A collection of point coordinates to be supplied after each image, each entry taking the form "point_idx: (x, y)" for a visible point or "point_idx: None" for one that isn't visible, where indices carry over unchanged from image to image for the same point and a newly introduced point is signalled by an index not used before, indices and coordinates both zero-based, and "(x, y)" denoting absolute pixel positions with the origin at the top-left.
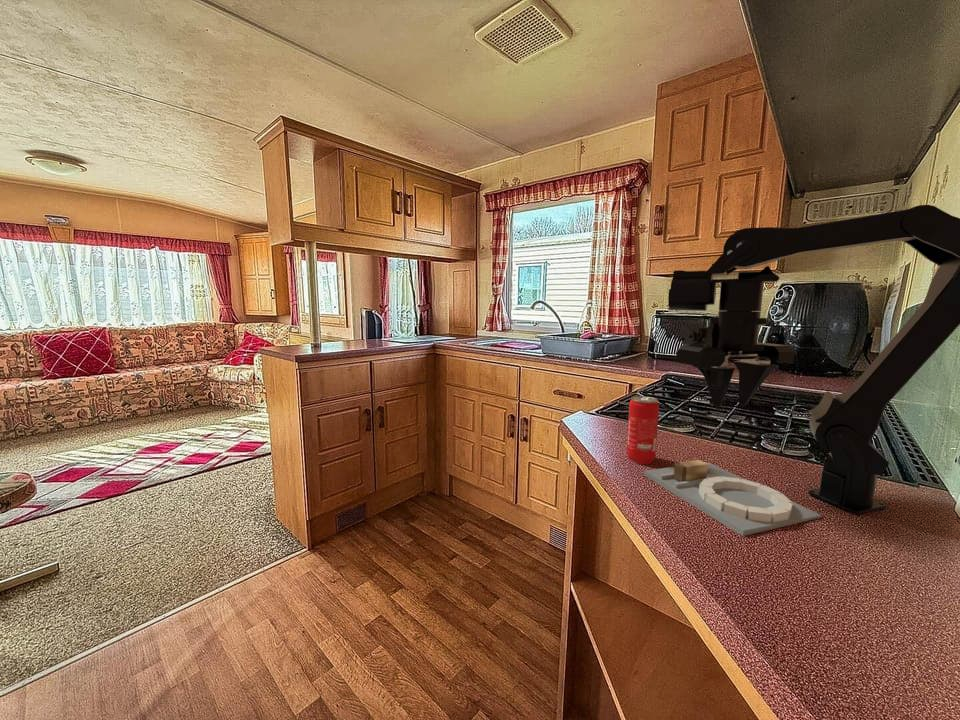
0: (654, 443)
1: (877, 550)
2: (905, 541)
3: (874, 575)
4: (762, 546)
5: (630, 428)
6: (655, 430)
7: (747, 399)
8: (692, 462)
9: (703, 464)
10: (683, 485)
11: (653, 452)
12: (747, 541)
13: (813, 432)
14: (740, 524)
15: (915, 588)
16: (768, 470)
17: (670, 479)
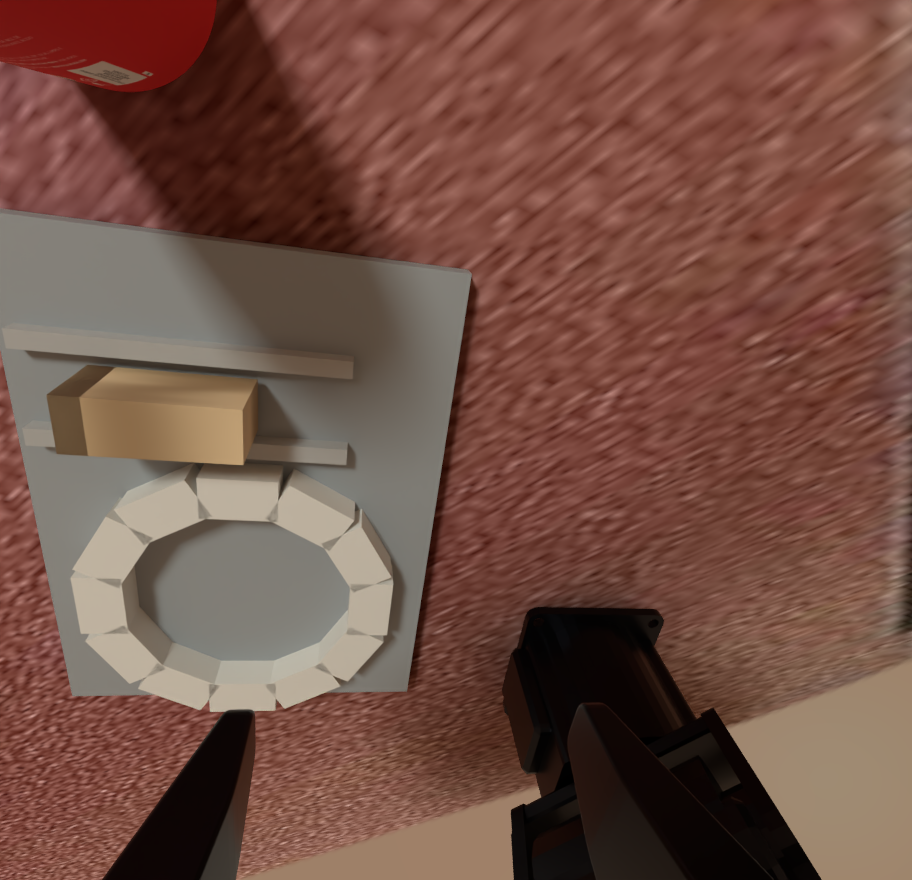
0: (102, 74)
1: (380, 767)
2: (487, 759)
3: (263, 807)
4: (101, 715)
5: None
6: (39, 57)
7: (586, 818)
8: (171, 423)
9: (214, 462)
10: None
11: (128, 84)
12: None
13: (576, 874)
14: (94, 674)
15: (296, 834)
16: (677, 411)
17: (70, 361)
